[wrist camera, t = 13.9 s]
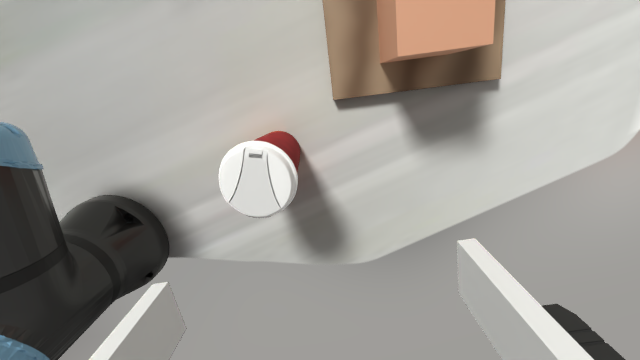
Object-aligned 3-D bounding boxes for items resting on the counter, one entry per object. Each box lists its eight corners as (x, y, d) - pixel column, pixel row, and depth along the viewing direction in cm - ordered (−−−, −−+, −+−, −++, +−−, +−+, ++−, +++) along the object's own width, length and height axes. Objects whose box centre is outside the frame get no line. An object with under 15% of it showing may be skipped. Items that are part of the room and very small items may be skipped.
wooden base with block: (333, 99, 38) (333, 104, 29) (318, -37, 34) (313, -81, 25) (494, 78, 37) (546, 77, 28) (501, -67, 32) (568, -125, 23)
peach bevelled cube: (380, 63, 35) (397, 56, 26) (375, -14, 33) (393, -53, 23) (449, 54, 35) (493, 43, 25) (449, -25, 32) (498, -70, 23)
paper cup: (252, 120, 39) (212, 139, 26) (310, 125, 39) (298, 147, 26) (251, 176, 42) (214, 219, 29) (306, 181, 42) (293, 227, 29)
